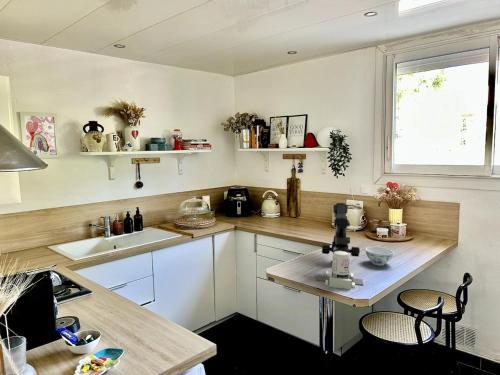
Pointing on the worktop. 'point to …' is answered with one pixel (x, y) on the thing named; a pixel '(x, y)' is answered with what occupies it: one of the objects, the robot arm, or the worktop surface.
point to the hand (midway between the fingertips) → (340, 265)
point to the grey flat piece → (340, 281)
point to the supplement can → (341, 265)
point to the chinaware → (379, 255)
